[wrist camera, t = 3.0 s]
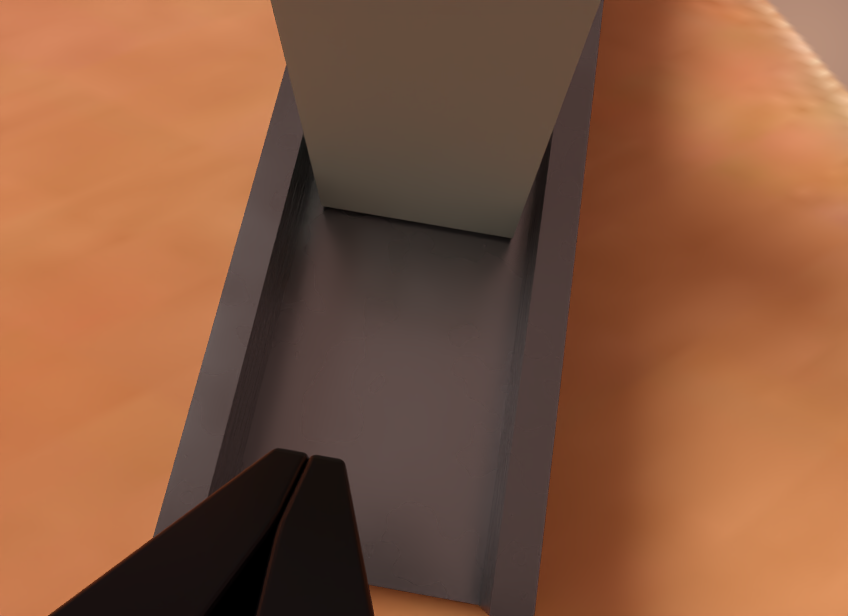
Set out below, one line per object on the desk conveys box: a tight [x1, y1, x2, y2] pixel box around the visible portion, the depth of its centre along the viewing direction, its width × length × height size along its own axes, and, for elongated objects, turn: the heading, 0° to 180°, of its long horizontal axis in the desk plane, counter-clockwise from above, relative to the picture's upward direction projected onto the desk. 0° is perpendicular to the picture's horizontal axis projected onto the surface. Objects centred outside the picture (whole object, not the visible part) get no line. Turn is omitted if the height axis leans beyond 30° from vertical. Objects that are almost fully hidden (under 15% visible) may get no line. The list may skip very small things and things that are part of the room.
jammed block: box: [271, 0, 601, 238], centre depth 17 cm, size 5×6×10 cm
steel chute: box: [153, 0, 604, 616], centre depth 21 cm, size 24×10×4 cm, turn 170°
